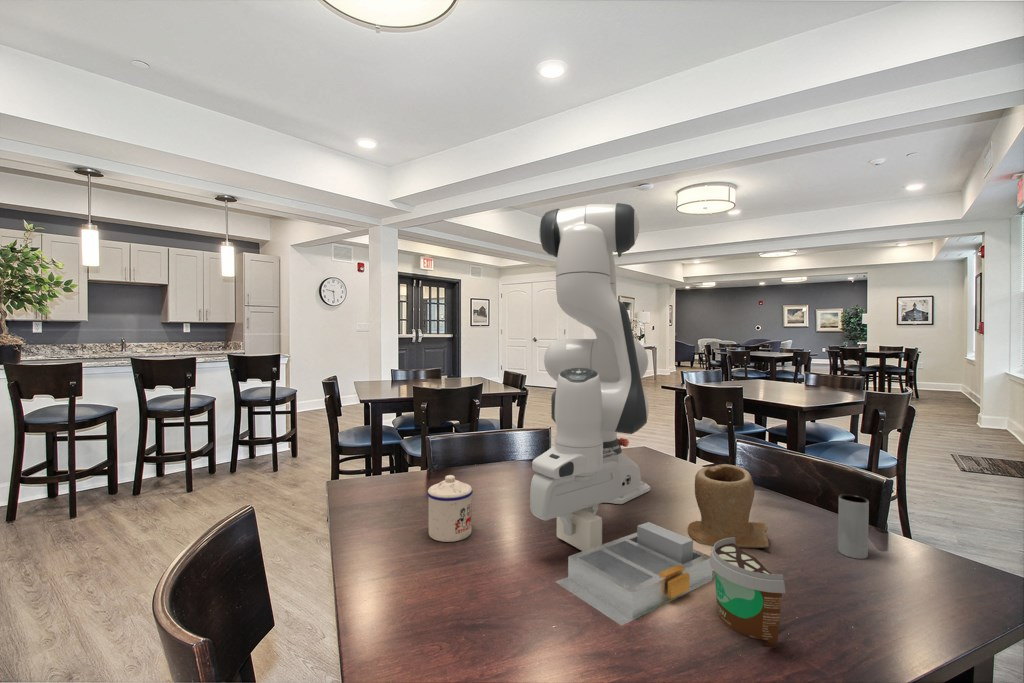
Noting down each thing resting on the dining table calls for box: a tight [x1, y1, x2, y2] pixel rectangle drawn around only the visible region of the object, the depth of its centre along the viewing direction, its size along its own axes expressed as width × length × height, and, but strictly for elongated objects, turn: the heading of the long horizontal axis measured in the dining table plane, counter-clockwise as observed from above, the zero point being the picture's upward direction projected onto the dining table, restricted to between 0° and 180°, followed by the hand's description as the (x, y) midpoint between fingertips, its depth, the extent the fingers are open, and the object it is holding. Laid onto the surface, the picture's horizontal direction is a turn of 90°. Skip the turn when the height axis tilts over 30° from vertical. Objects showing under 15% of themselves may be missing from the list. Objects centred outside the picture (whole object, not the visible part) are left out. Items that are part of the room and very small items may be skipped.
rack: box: [555, 532, 715, 627], centre depth 78 cm, size 24×15×5 cm, turn 125°
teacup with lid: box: [426, 474, 474, 543], centre depth 99 cm, size 12×9×12 cm
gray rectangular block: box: [636, 521, 694, 564], centre depth 82 cm, size 3×9×6 cm, turn 35°
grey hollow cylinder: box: [837, 493, 870, 560], centre depth 89 cm, size 4×4×10 cm
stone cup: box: [687, 463, 770, 549], centre depth 93 cm, size 15×12×15 cm
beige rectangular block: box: [556, 508, 603, 552], centre depth 90 cm, size 3×9×6 cm, turn 35°
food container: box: [709, 538, 786, 649], centre depth 67 cm, size 12×6×10 cm, turn 5°
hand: (578, 530), depth 90 cm, fingers closed on beige rectangular block, 3 cm apart
